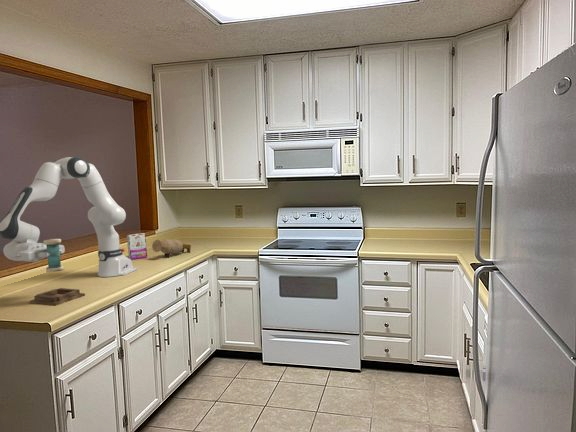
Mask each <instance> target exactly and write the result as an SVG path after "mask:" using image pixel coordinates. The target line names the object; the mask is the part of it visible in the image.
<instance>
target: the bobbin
mask: <svg viewBox="0 0 576 432" xmlns="http://www.w3.org/2000/svg"><path fill="white" fill-rule="evenodd" d="M43 243H44V244H45V245H46V246H47V252H50V256H48V257H47V264H48V265H47V266H48V267H45V271H46V273H57V272H62V271H64V270H65V269H64V265H62V263H61V254H60V251H59V245H60V244H61V243H62V239H61V238H50V239H45V240H43Z"/></svg>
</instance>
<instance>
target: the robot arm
mask: <svg viewBox="0 0 576 432" xmlns="http://www.w3.org/2000/svg"><path fill="white" fill-rule="evenodd" d="M73 179H77V181H79V183H80V186H81V188H82V190H83V192H84V195H85V197H86V199H87V201H88V202H89V203H91V204H92V205H93V206H91V208H89V209H88V211H87V219H88V220H89V221H90V222H91V224H92V225H93V228H94V231H95V234H96V237H97V244H98V245H97V246H98V251H97V254H98V255H97V256H98V258H99V259H98V270H97V277H100V278H108V277H109V278H111V277H117V276H125V275H128V274H130V273H132V272H135V271H137V270H138V267H135V266H133V260H130V259H129V257H127V256H125V254H123V253H125V252H126V251H127V250H126V248H121V247H120V246H121V245H120V235H119V233H118V232H117V231H116V230H115V227H114V226H118V225H121V224H123V223H124V222H125V220H126V218H127V213H126V211H125V209H124V208H123V207H121V205H119V204H118V203H117V202H116V201H115V200H114V198H113V197H112V196H111V195H110V193H109V191H108V189H107V186H106V185H105V182H104V181H103V178H102V176H101V174H100V172H99V171H98V169H97V167H95V165H94V164H93V163H90V162H89V163H88V162H87V160H85V159H84V158H82V157H79V156H70V157H68V156H66V157H63V158H58V159H56V160H54V161H50V162H49V161H47V162H44V163H43V164H42V165H40V168H39V169H38V171H37V172H36V174H35V177H34V179H33V182H32V183H31V185H29V186H26V187H24V188H23V189H22V190H21V191H20V193H19V194H18V196H17V197H16V199H15V200H14V201H13V203H12V205H11V206H10V208H9V210H8V211H7V213H6V215H5V216H4V217H3V218H2V219H1V220H0V237H1V238H2V239H5V240H9V241H10V240H11V241H10V242H9V243H7V244H5V246H4V247H3V249H2V250H3V255H4V256H5V257H6V258H7V259H9V260H11V261H13V262H14V261H16V262H30V263H31V262H32V263H36V262H37V263H38V262H39V261H41V260H43V259H45V258H48V256H50V252H47V246H46V245H45V244H44V242H40V240H41V230H40V228H39V227H38V226H37V225H33V224H32V223H29V222H28V223H27V222H25V221H23V220H21V217H22V214H23V213H24V212H25V210H26V208H27V206H29V204H30V203H32V202H46V201H49V200H51V199H53V198H54V197H55V196H56V194H57V191H58V188H59V186H60V183H61V181H62V180H73ZM65 249H66V248H65V245H63V244H59V251H60V255H61V254H64V253H66V250H65Z"/></svg>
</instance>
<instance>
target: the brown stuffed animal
mask: <svg viewBox="0 0 576 432" xmlns="http://www.w3.org/2000/svg"><path fill="white" fill-rule="evenodd" d="M152 242H153V243H151V244H152V245H151V247H152V248H151V249H152V250H153V252H155V253H159V252H161V253H162V254H164V258H170V256H171V255H177V254H181V253H185V249H186V252H187V253H191V247H192V245H191V244H186V243H182V241H181V240H180V239H170V238H169V239H167V238H164V239H162V240H159V239H156V240H154V241H152ZM170 254H171V255H170Z"/></svg>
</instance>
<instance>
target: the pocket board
mask: <svg viewBox="0 0 576 432" xmlns="http://www.w3.org/2000/svg"><path fill="white" fill-rule="evenodd" d="M82 297H85V293H84V292H81V291H80V289H78V288H65V287H60V288H55V289H50V290H47V291H44V292H41V293H37V294H35V295H34V297H33V298H34V299H31V300H29V304H37V305H48V306H58V305H62V304H64V302H65V303H67V301H68V302H70V301H73V300H76V299H80V298H82Z"/></svg>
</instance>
